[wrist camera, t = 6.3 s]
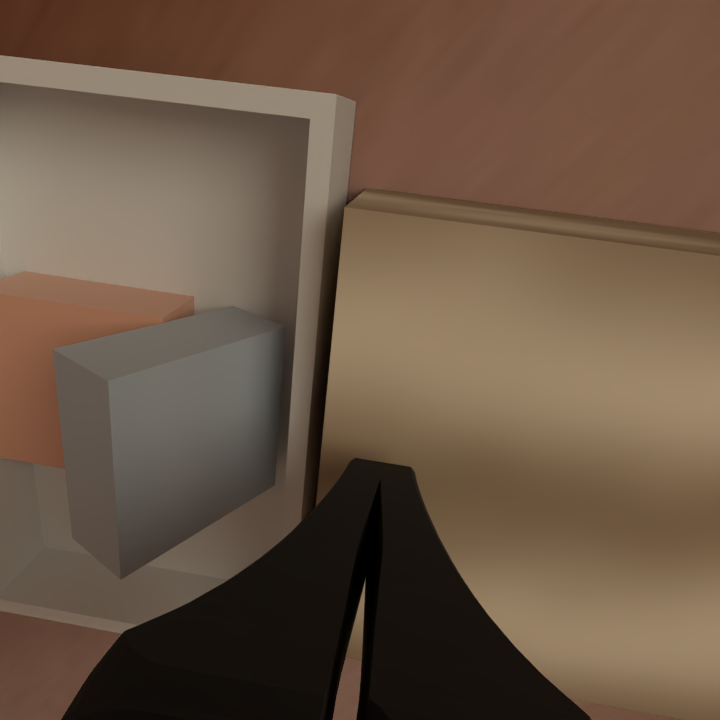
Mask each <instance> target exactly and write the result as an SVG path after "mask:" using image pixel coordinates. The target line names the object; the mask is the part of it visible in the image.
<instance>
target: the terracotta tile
mask: <svg viewBox="0 0 720 720" xmlns="http://www.w3.org/2000/svg"><path fill="white" fill-rule="evenodd" d="M193 315H194V296H188V295H181V294H174V293H168V292H161V291H154V290H148V289H141V288H134V287H128V286H121V285H114V284H107V283H101V282H94V281H87V280H81V279H74V278H67V277H61V276H54V275H47V274H40V273H34V272H27V271H24V272H21V273H18V274H15V275H12V276H9V277H6V278H3V279H0V458H5V459H11V460H17V461H23V462H29V463H34V464H40V465H46V466H52V467H57V468H63V469H65V464H64V455H63V445H62V436H61V426H60V417H59V407H58V398H57V388H56V379H55V369H54V360H53V350H52V349H55V348H59V347H63V346H67V345H72V344H76V343H80V342H84V341H88V340H93V339H97V338H101V337H105V336H109V335H114V334H118V333H122V332H126V331H130V330H135V329H139V328H143V327H147V326H151V325H156V324H160V323H164V322H168V321H172V320H177V319H181V318H185V317H189V316H193Z"/></svg>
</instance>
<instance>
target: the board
mask: <svg viewBox="0 0 720 720" xmlns="http://www.w3.org/2000/svg"><path fill="white" fill-rule="evenodd" d="M354 458H360V459H366V460H372V461H378V462H385V463H391V464H397V465H403V466H409V467H411V468H412V469H413V470H414V472H415V476H416V480H417V484H418V487H419V490H420V493H421V496H422V499H423V501H424V504H425V507H426V509H427V511H428V514H429V516H430V518H431V520H432V523H433V525H434V527H435V529H436V531H437V534H438V536H439V538H440V540H441V542H442V544H443V545H444V547H445V549H446V551H447V553H448V555H449V556H450V558H451V560H452V562H453V563H454V565H455V567H456V569H457V570H458V572H459V573H460V575H461V577H462V578H463V580H464V581H465V583H466V584H467V586H468V587H469V589H470V590H471V592H472V593H473V595H474V596H475V597H476V599H477V600H478V602H479V603H480V604H481V606H482V607H483V608H484V610H485V611H486V612H487V614H488V615H489V616H490V618H491V619H492V620H493V621H494V622H495V623H496V625H497V626H498V627H499V628H500V629H501V631H502V632H503V633H504V634H505V635H506V636H507V638H508V639H509V640H510V641H511V642H512V644H513V645H514V646H515V647H516V648H517V649H518V650H519V651H520V652H521V653H522V654H523V655H524V656H525V657H526V658H527V659H528V660H529V661H530V662H531V663H532V664H533V665H534V666H535V668H536V669H537V670H538V671H539V672H540V673H541V674H542V675H544V676H545V677H546V678H547V679H548V680H549V681H550V682H551V683H552V684H553V685H555V686H556V687H557V688H558V689H559V690H560V691H561V692H562V693H564V694H565V695H566V696H567V697H568V698H569V699H573V700H578V701H584V702H589V703H595V704H600V705H605V706H611V707H616V708H622V709H627V710H632V711H638V712H643V713H648V714H654V715H659V716H665V717H670V718H675V719H681V720H720V233H716V232H708V231H700V230H693V229H685V228H677V227H669V226H661V225H653V224H645V223H637V222H629V221H622V220H614V219H606V218H598V217H590V216H582V215H574V214H566V213H558V212H551V211H543V210H535V209H527V208H519V207H511V206H503V205H495V204H487V203H480V202H472V201H464V200H456V199H448V198H440V197H432V196H424V195H417V194H409V193H401V192H393V191H385V190H377V189H369V188H367V189H365V190H364V191H363V192H362V193H361V194H360V195H358V196H357V197H356V198H355V199H354V200H352V201H351V202H350V203H349V204H348V205H347V206H345V208H344V218H343V228H342V239H341V249H340V260H339V270H338V281H337V291H336V301H335V312H334V322H333V333H332V343H331V353H330V364H329V374H328V385H327V395H326V406H325V416H324V426H323V437H322V447H321V458H320V468H319V478H318V489H317V499H316V506H317V505H318V504H319V503H320V501H321V500H322V499H323V498H324V497H325V496H326V494H327V493H328V492H329V491H330V490H331V489H332V487H333V486H334V485H335V483H336V482H337V481H338V479H339V478H340V477H341V475H342V474H343V472H344V471H345V469H346V468H347V466H348V464H349V462H350V461H351V460H353V459H354ZM365 580H366V579H365ZM364 601H365V583H364V587H363V591H362V595H361V599H360V603H359V606H358V610H357V614H356V618H355V622H354V626H353V630H352V634H351V637H350V641H349V645H348V649H347V653H346V657H347V658H352V659H358V660H362V645H363V622H364Z"/></svg>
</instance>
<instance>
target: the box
mask: <svg viewBox="0 0 720 720" xmlns="http://www.w3.org/2000/svg"><path fill="white" fill-rule="evenodd" d="M355 108H356V102H355V101H353V100H350V99H348V98H345V97H342V96H340V95H337V94H330V93H321V92H312V91H304V90H295V89H287V88H278V87H269V86H261V85H252V84H243V83H235V82H226V81H217V80H209V79H200V78H191V77H183V76H174V75H165V74H157V73H148V72H139V71H131V70H122V69H113V68H105V67H96V66H87V65H79V64H70V63H61V62H53V61H44V60H36V59H27V58H18V57H10V56H1V55H0V279H3V278H6V277H9V276H12V275H15V274H18V273H21V272H24V271H27V272H34V273H40V274H47V275H54V276H61V277H67V278H74V279H81V280H87V281H94V282H101V283H107V284H114V285H121V286H128V287H134V288H141V289H148V290H154V291H161V292H168V293H174V294H181V295H188V296H194V315H198V314H202V313H206V312H210V311H214V310H219V309H223V308H227V307H231V306H234V307H237V308H239V309H242V310H244V311H247V312H249V313H252V314H255V315H257V316H260V317H262V318H265V319H268V320H270V321H273V322H275V323H278V324H281V325H283V326H286V334H285V348H284V363H283V377H282V391H281V406H280V420H279V434H278V449H277V463H276V477H275V486H273V487H271V488H270V489H268V490H266V491H265V492H263V493H262V494H260V495H258V496H257V497H255V498H253V499H252V500H250V501H249V502H247V503H245V504H244V505H242V506H240V507H239V508H237V509H235V510H234V511H232V512H231V513H229V514H227V515H226V516H224V517H222V518H221V519H219V520H218V521H216V522H214V523H213V524H211V525H209V526H208V527H206V528H205V529H203V530H201V531H200V532H198V533H196V534H195V535H193V536H192V537H190V538H188V539H187V540H185V541H183V542H182V543H180V544H178V545H177V546H175V547H174V548H172V549H170V550H169V551H167V552H165V553H164V554H162V555H161V556H159V557H157V558H156V559H154V560H152V561H151V562H149V563H148V564H146V565H144V566H143V567H141V568H139V569H138V570H136V571H134V572H133V573H131V574H130V575H128V576H126V577H125V578H123V579H121V580H120V579H119V578H118V577H117V576H116V575H115V574H113V573H112V572H111V571H110V570H109V569H108V568H106V567H105V566H104V565H103V564H102V563H101V562H99V561H98V560H97V559H96V558H95V557H94V556H93V555H91V554H90V553H89V552H88V551H87V550H86V549H84V548H83V547H82V546H81V545H80V544H79V543H77V542H76V541H75V540H74V539H73V538H72V531H71V522H70V512H69V503H68V493H67V483H66V474H65V469H63V468H57V467H52V466H46V465H40V464H34V463H29V462H23V461H17V460H11V459H5V458H0V611H4V612H9V613H14V614H20V615H25V616H30V617H36V618H41V619H46V620H52V621H57V622H62V623H68V624H73V625H78V626H84V627H89V628H94V629H100V630H105V631H110V632H116V633H121V634H122V633H123V632H124V631H125V630H128V629H130V628H133V627H135V626H138V625H140V624H142V623H145V622H147V621H149V620H151V619H154V618H156V617H158V616H161V615H163V614H165V613H167V612H170V611H172V610H174V609H177V608H179V607H181V606H183V605H185V604H187V603H189V602H191V601H192V600H194V599H196V598H198V597H199V596H201V595H203V594H205V593H206V592H208V591H210V590H212V589H214V588H215V587H217V586H219V585H221V584H222V583H224V582H225V581H227V580H229V579H230V578H232V577H233V576H235V575H236V574H238V573H239V572H241V571H242V570H243V569H245V568H246V567H248V566H249V565H251V564H252V563H253V562H255V561H256V560H258V559H259V558H260V557H262V556H263V555H264V554H265V553H267V552H268V551H269V550H270V549H272V548H273V547H274V546H275V545H277V544H278V543H279V542H280V541H281V540H282V539H284V538H285V537H286V536H287V535H288V534H289V533H290V532H291V531H292V530H293V529H294V528H295V527H296V526H297V525H298V524H299V523H300V522H301V521H302V520H303V519H304V518H306V517H307V516H308V515H309V514H310V513H311V512H312V510H313V509H314V508H315V507H316V499H317V489H318V478H319V468H320V458H321V447H322V437H323V426H324V416H325V406H326V395H327V385H328V374H329V364H330V353H331V343H332V333H333V322H334V312H335V301H336V291H337V281H338V270H339V260H340V249H341V239H342V228H343V218H344V208H345V206H346V200H347V190H348V180H349V169H350V159H351V149H352V138H353V128H354V118H355Z"/></svg>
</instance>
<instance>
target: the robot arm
mask: <svg viewBox="0 0 720 720" xmlns="http://www.w3.org/2000/svg"><path fill="white" fill-rule="evenodd" d="M365 579H366V580H365ZM364 583H365V601H364V622H363V645H362V667H361V683H360V695H359V704H358V712H357V719H356V720H591V718H590V717H589V716H588V715H587V714H586V713H585V712H584V711H583V710H581V709H580V708H579V707H578V706H577V705H576V704H575V703H574V702H573V701H571V700H570V699H569V698H568V697H567V696H566V695H565V694H564V693H562V692H561V691H560V690H559V689H558V688H557V687H556V686H555V685H553V684H552V683H551V682H550V681H549V680H548V679H547V678H546V677H545V676H544V675H542V674H541V673H540V672H539V671H538V670H537V669H536V668H535V666H534V665H533V664H532V663H531V662H530V661H529V660H528V659H527V658H526V657H525V656H524V655H523V654H522V653H521V652H520V651H519V650H518V649H517V648H516V647H515V646H514V645H513V644H512V642H511V641H510V640H509V639H508V638H507V636H506V635H505V634H504V633H503V632H502V631H501V629H500V628H499V627H498V626H497V625H496V623H495V622H494V621H493V620H492V619H491V618H490V616H489V615H488V614H487V612H486V611H485V610H484V608H483V607H482V606H481V604H480V603H479V602H478V600H477V599H476V597H475V596H474V595H473V593H472V592H471V590H470V589H469V587H468V586H467V584H466V583H465V581H464V580H463V578H462V577H461V575H460V573H459V572H458V570H457V569H456V567H455V565H454V563H453V562H452V560H451V558H450V556H449V555H448V553H447V551H446V549H445V547H444V545H443V544H442V542H441V540H440V538H439V536H438V534H437V531H436V529H435V527H434V525H433V523H432V520H431V518H430V516H429V514H428V511H427V509H426V507H425V504H424V501H423V499H422V496H421V493H420V490H419V487H418V484H417V480H416V476H415V472H414V470H413V469H412V468H411V467H409V466H403V465H397V464H391V463H385V462H378V461H372V460H366V459H360V458H354V459H353V460H351V461H350V462H349V464H348V466H347V468H346V469H345V471H344V472H343V474H342V475H341V477H340V478H339V479H338V481H337V482H336V483H335V485H334V486H333V487H332V489H331V490H330V491H329V492H328V493H327V494H326V496H325V497H324V498H323V499H322V500H321V501H320V503H319V504H318V505H317V506H316V507H315V508H314V509H313V510H312V512H311V513H310V514H309V515H308V516H307V517H306V518H304V519H303V520H302V521H301V522H300V523H299V524H298V525H297V526H296V527H295V528H294V529H293V530H292V531H291V532H290V533H289V534H288V535H287V536H286V537H285V538H284V539H282V540H281V541H280V542H279V543H278V544H277V545H275V546H274V547H273V548H272V549H270V550H269V551H268V552H267V553H265V554H264V555H263V556H262V557H260V558H259V559H258V560H256V561H255V562H253V563H252V564H251V565H249V566H248V567H246V568H245V569H243V570H242V571H241V572H239V573H238V574H236V575H235V576H233V577H232V578H230V579H229V580H227V581H225V582H224V583H222V584H221V585H219V586H217V587H215V588H214V589H212V590H210V591H208V592H206V593H205V594H203V595H201V596H199V597H198V598H196V599H194V600H192V601H191V602H189V603H187V604H185V605H183V606H181V607H179V608H177V609H174V610H172V611H170V612H167V613H165V614H163V615H161V616H158V617H156V618H154V619H151V620H149V621H147V622H145V623H142V624H140V625H138V626H135V627H133V628H130V629H128V630H125V631H124V632H123V633H122V635H121V636H120V637H119V638H118V639H117V641H116V642H115V643H114V644H113V646H112V647H111V648H110V649H109V650H108V652H107V653H106V654H105V655H104V657H103V658H102V659H101V660H100V662H99V663H98V664H97V665H96V667H95V668H94V669H93V671H92V672H91V673H90V675H89V676H88V678H87V679H86V681H85V682H84V684H83V685H82V687H81V689H80V690H79V692H78V693H77V695H76V697H75V698H74V700H73V701H72V703H71V705H70V706H69V708H68V709H67V711H66V713H65V714H64V716H63V718H62V719H61V720H332V719H333V713H334V707H335V701H336V695H337V691H338V686H339V681H340V677H341V672H342V668H343V665H344V661H345V657H346V653H347V649H348V645H349V641H350V637H351V634H352V630H353V626H354V622H355V618H356V614H357V610H358V606H359V603H360V599H361V595H362V591H363V587H364Z"/></svg>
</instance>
